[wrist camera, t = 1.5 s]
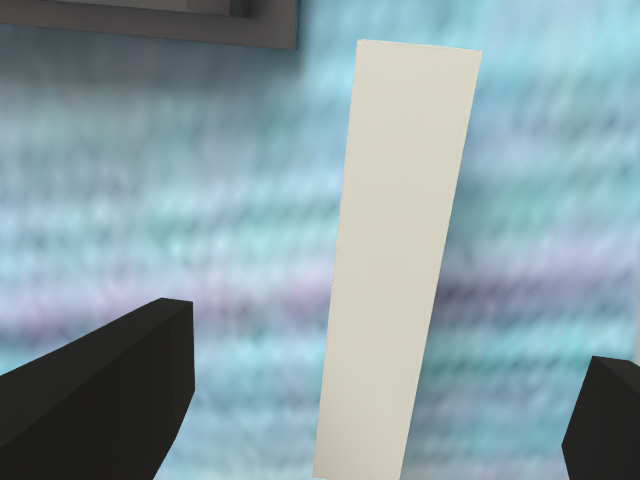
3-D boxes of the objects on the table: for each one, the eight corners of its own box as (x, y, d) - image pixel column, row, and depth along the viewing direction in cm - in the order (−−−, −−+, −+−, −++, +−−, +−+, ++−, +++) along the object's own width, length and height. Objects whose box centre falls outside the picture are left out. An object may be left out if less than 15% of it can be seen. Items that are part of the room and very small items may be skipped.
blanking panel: (391, 350, 21) (397, 489, 14) (332, 343, 21) (312, 476, 15) (441, 46, 16) (482, 51, 10) (365, 39, 17) (357, 39, 10)
